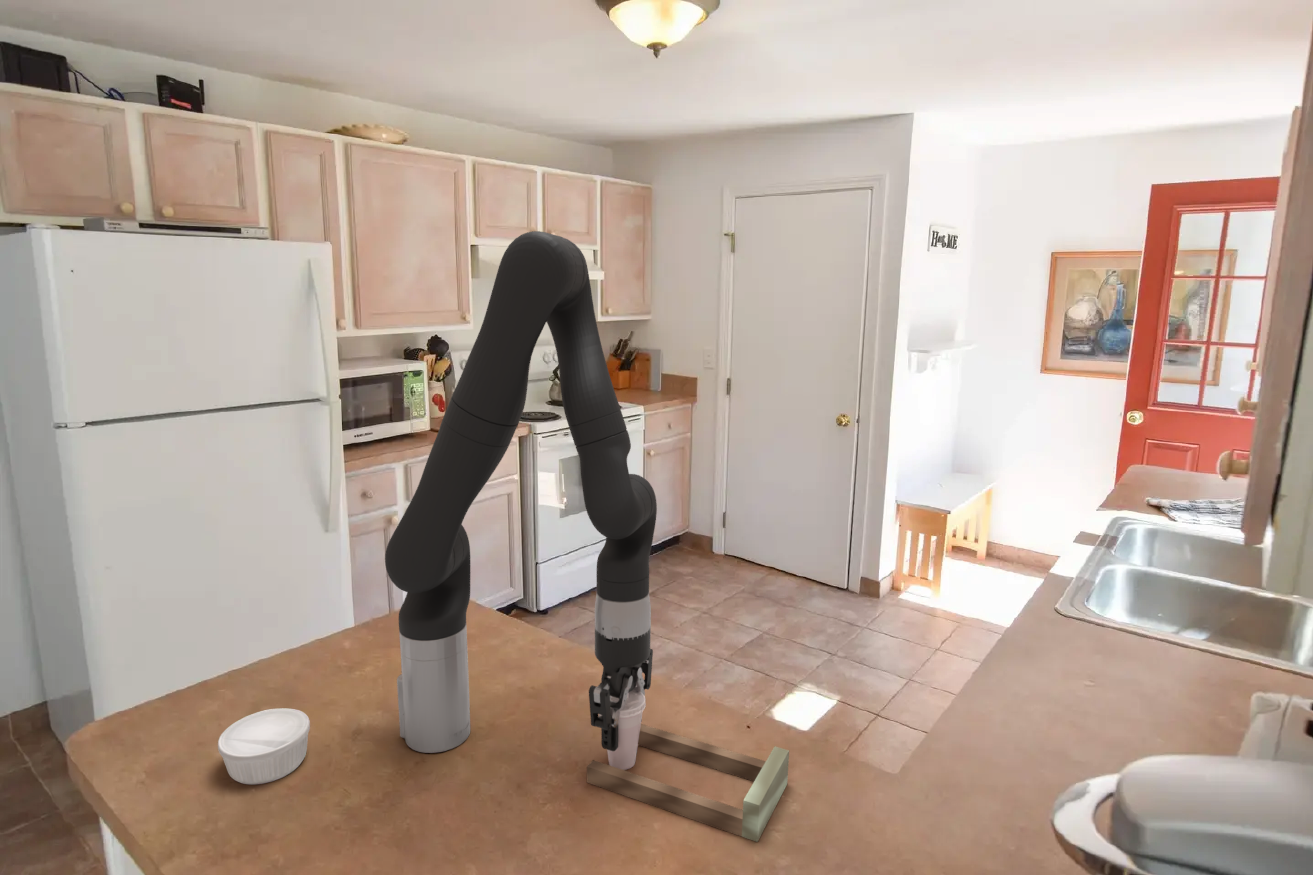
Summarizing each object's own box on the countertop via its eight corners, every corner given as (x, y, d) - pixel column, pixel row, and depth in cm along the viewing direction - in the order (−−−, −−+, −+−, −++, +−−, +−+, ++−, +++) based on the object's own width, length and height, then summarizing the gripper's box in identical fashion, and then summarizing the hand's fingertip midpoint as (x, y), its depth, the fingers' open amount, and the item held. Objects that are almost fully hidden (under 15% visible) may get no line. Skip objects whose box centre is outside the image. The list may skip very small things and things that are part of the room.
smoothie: (639, 779, 102) (640, 683, 100) (593, 772, 104) (593, 678, 101) (649, 751, 109) (650, 661, 106) (605, 745, 110) (606, 655, 107)
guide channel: (586, 782, 102) (586, 748, 101) (630, 735, 112) (630, 704, 111) (757, 841, 91) (759, 805, 90) (787, 783, 102) (789, 750, 101)
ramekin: (219, 800, 97) (215, 764, 96) (222, 753, 107) (219, 719, 106) (315, 776, 102) (312, 741, 101) (309, 732, 112) (307, 700, 111)
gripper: (624, 598, 110) (623, 703, 113) (569, 638, 97) (571, 755, 101) (670, 608, 107) (668, 716, 110) (621, 652, 94) (620, 772, 97)
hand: (622, 734), depth 105 cm, fingers closed on smoothie, 6 cm apart
